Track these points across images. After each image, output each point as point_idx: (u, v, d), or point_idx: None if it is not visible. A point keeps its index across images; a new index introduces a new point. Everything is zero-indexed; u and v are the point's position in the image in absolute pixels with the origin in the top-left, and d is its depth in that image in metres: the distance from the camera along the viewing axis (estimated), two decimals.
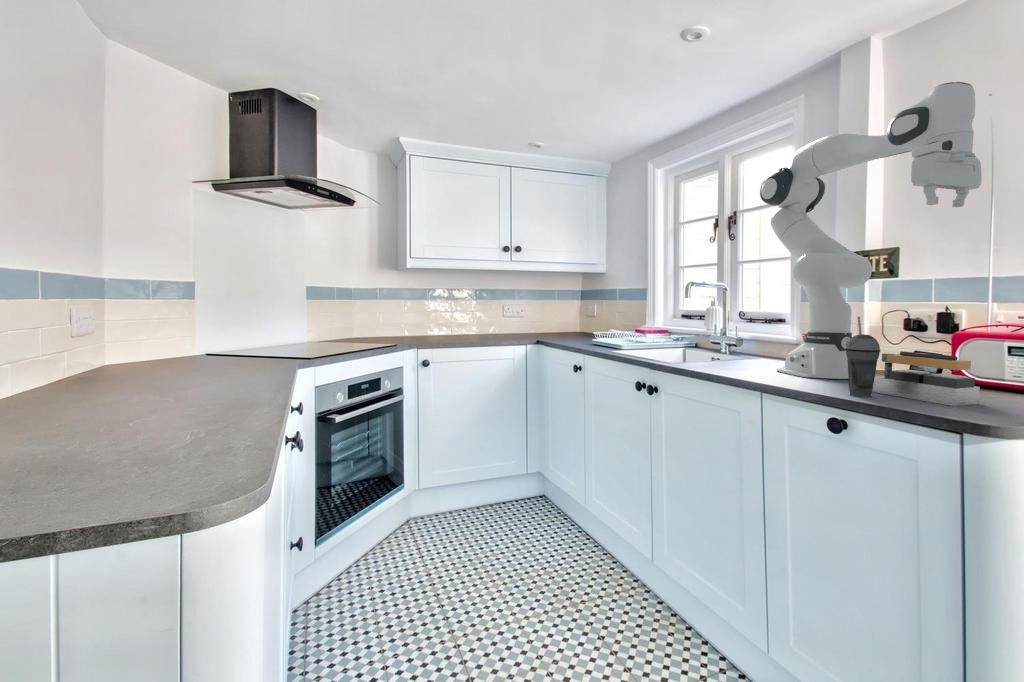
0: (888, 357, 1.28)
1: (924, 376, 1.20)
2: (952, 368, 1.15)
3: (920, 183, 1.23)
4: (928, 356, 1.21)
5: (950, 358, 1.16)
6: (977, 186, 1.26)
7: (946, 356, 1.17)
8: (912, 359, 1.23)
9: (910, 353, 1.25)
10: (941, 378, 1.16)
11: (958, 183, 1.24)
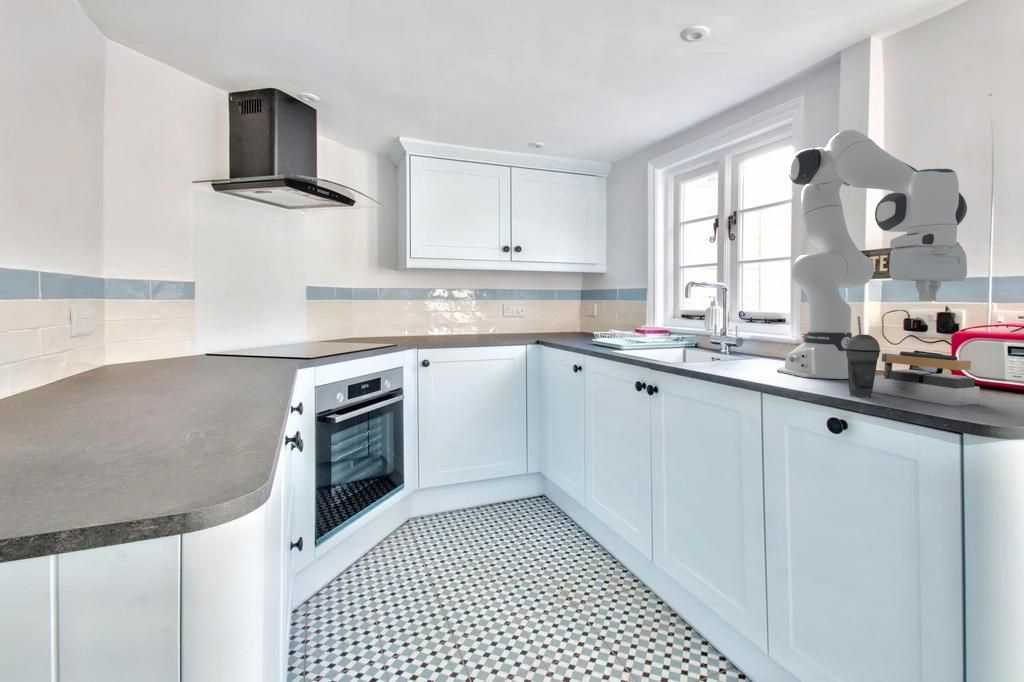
0: (888, 357, 1.28)
1: (924, 376, 1.20)
2: (952, 368, 1.15)
3: (899, 279, 1.11)
4: (928, 356, 1.21)
5: (950, 358, 1.16)
6: (962, 279, 1.15)
7: (946, 356, 1.17)
8: (912, 359, 1.23)
9: (910, 353, 1.25)
10: (941, 378, 1.16)
11: (941, 277, 1.13)
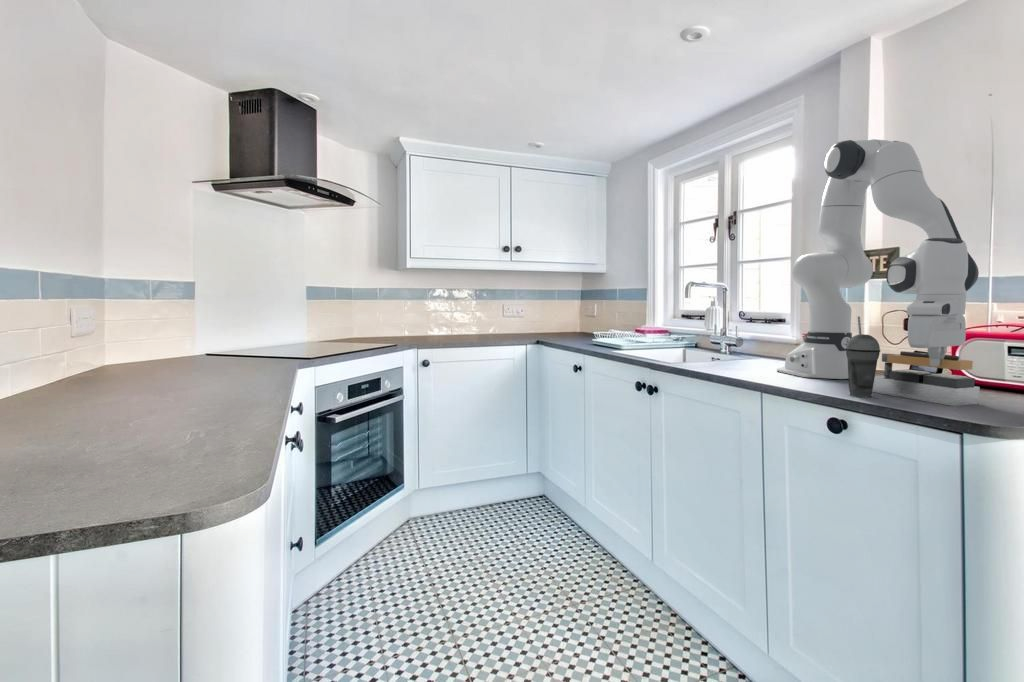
0: (889, 357, 1.28)
1: (924, 376, 1.20)
2: (955, 368, 1.15)
3: (919, 347, 1.12)
4: None
5: (952, 358, 1.17)
6: (962, 344, 1.19)
7: (948, 356, 1.17)
8: (913, 359, 1.23)
9: (911, 353, 1.25)
10: (941, 378, 1.16)
11: (949, 344, 1.16)
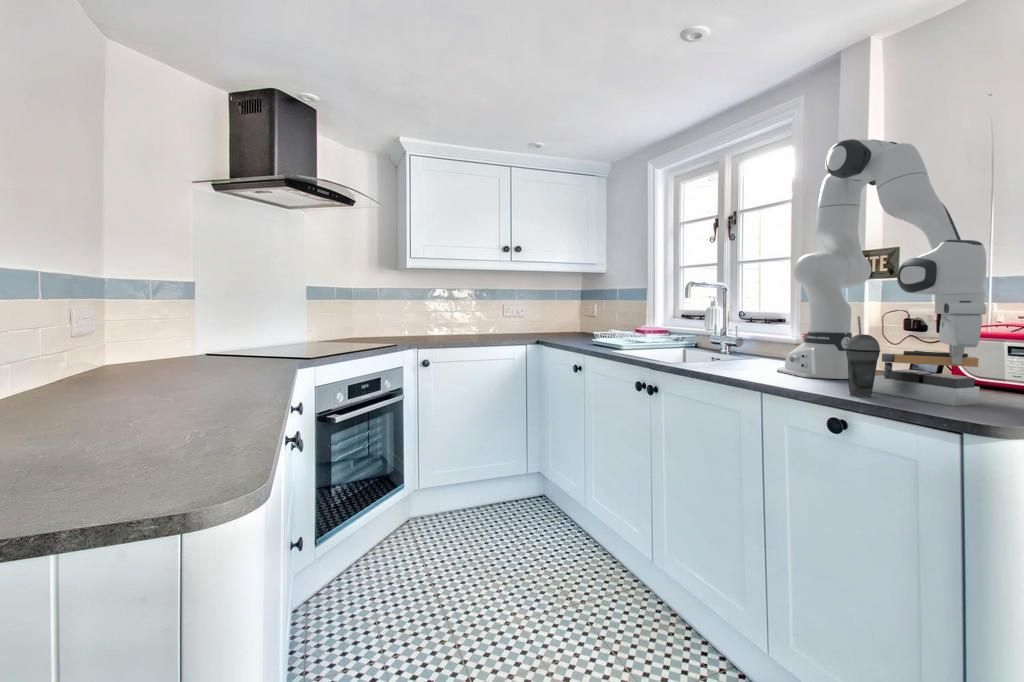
0: (896, 357, 1.28)
1: (924, 376, 1.20)
2: (972, 365, 1.20)
3: (968, 346, 1.12)
4: (937, 354, 1.25)
5: None
6: None
7: None
8: (925, 358, 1.25)
9: (916, 352, 1.27)
10: (941, 378, 1.16)
11: None
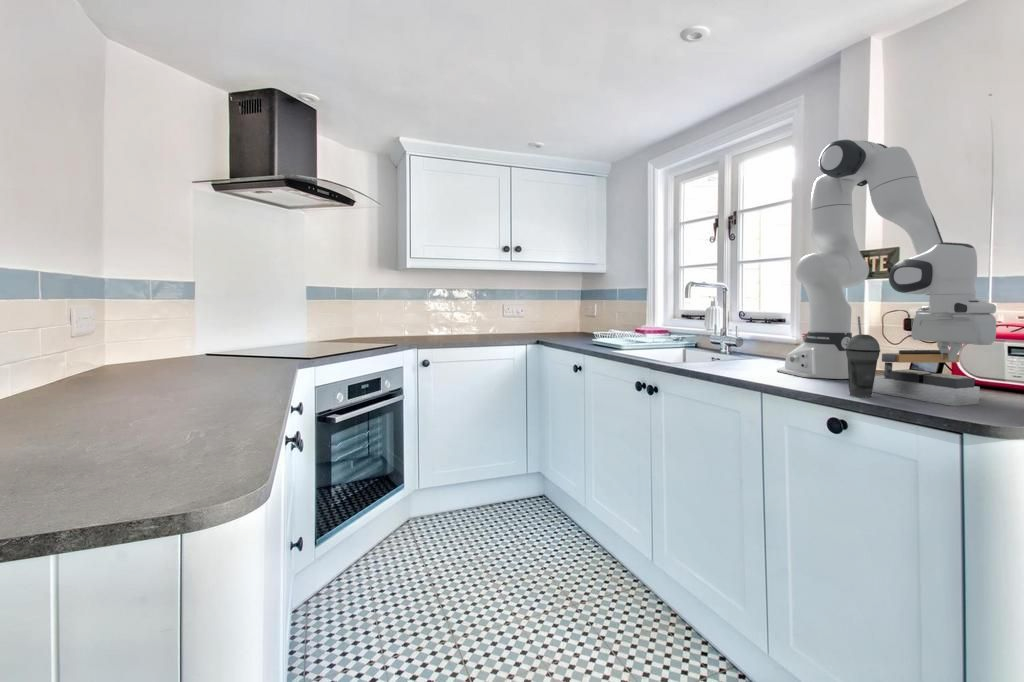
0: (901, 357, 1.28)
1: (924, 376, 1.20)
2: (955, 361, 1.29)
3: (986, 344, 1.18)
4: (926, 352, 1.30)
5: None
6: None
7: None
8: (922, 357, 1.28)
9: (910, 351, 1.30)
10: (941, 378, 1.16)
11: None
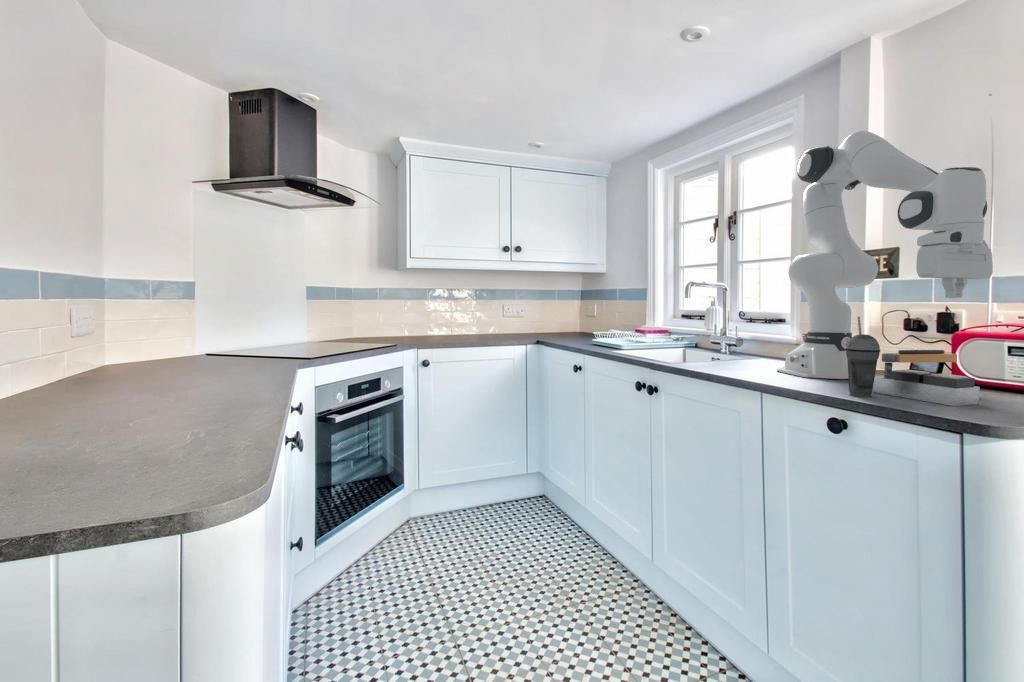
0: (901, 357, 1.28)
1: (924, 376, 1.20)
2: (953, 360, 1.29)
3: (926, 276, 1.13)
4: (924, 352, 1.31)
5: (941, 352, 1.31)
6: (988, 276, 1.16)
7: (938, 350, 1.31)
8: (921, 357, 1.29)
9: (910, 351, 1.30)
10: (941, 378, 1.16)
11: (968, 275, 1.14)
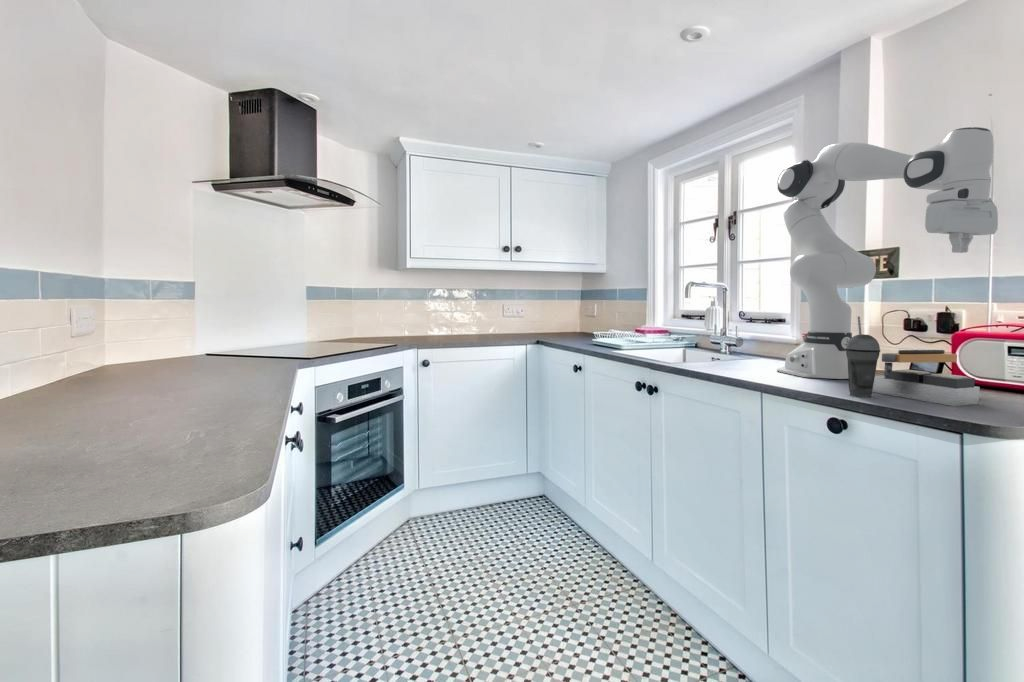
0: (901, 357, 1.28)
1: (924, 376, 1.20)
2: (953, 360, 1.29)
3: (934, 231, 1.20)
4: (924, 352, 1.31)
5: (941, 352, 1.31)
6: (993, 232, 1.24)
7: (938, 350, 1.31)
8: (921, 357, 1.29)
9: (910, 351, 1.30)
10: (941, 378, 1.16)
11: (973, 230, 1.22)
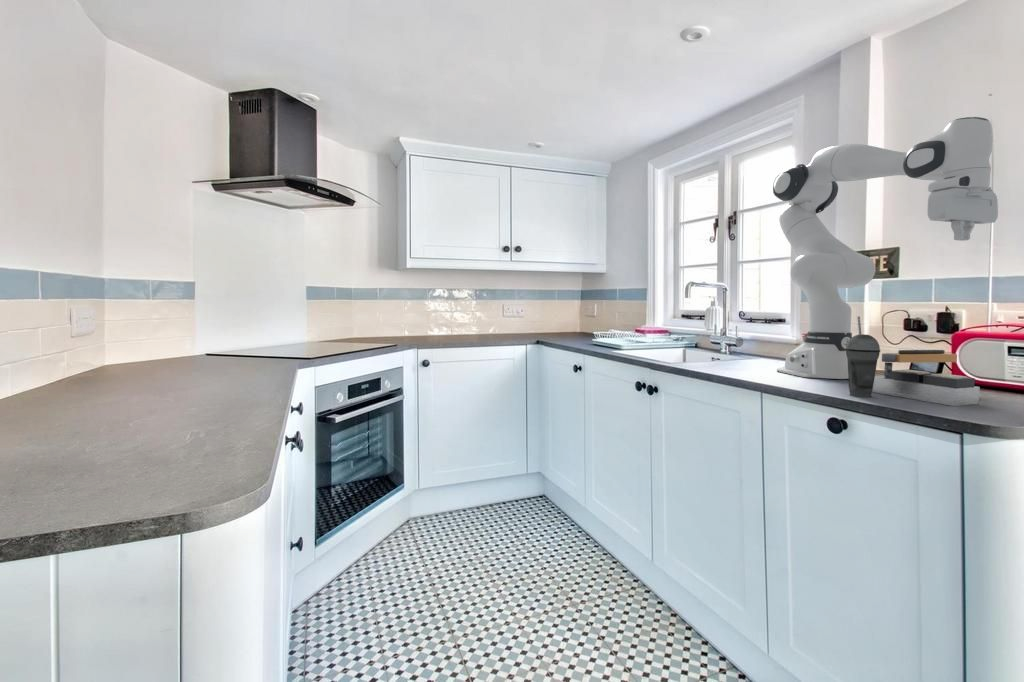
0: (901, 357, 1.28)
1: (924, 376, 1.20)
2: (953, 360, 1.29)
3: (937, 218, 1.22)
4: (924, 352, 1.31)
5: (941, 352, 1.31)
6: (993, 220, 1.26)
7: (938, 350, 1.31)
8: (921, 357, 1.29)
9: (910, 351, 1.30)
10: (941, 378, 1.16)
11: (975, 218, 1.24)
